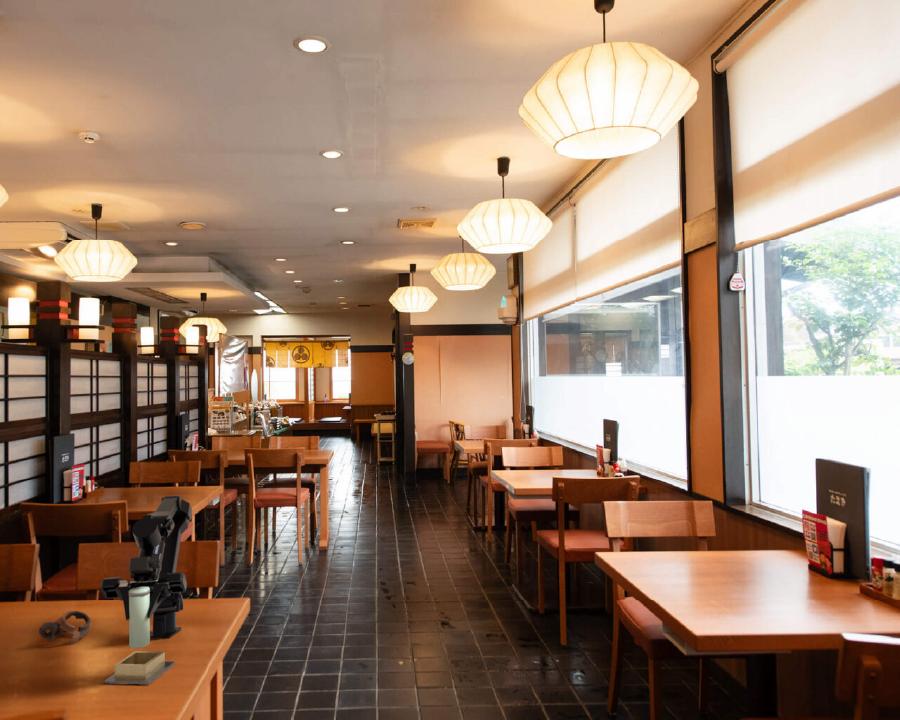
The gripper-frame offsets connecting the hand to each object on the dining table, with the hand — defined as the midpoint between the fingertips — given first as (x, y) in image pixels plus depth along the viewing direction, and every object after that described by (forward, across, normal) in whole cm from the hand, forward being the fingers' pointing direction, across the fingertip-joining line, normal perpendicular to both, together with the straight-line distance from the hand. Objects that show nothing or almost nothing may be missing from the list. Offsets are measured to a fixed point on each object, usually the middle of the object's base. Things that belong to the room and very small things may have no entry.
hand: (137, 618), depth 150 cm
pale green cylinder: (+4, 0, +6) cm, 7 cm away
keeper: (+9, 0, +10) cm, 13 cm away
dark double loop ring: (-10, -26, +30) cm, 41 cm away
